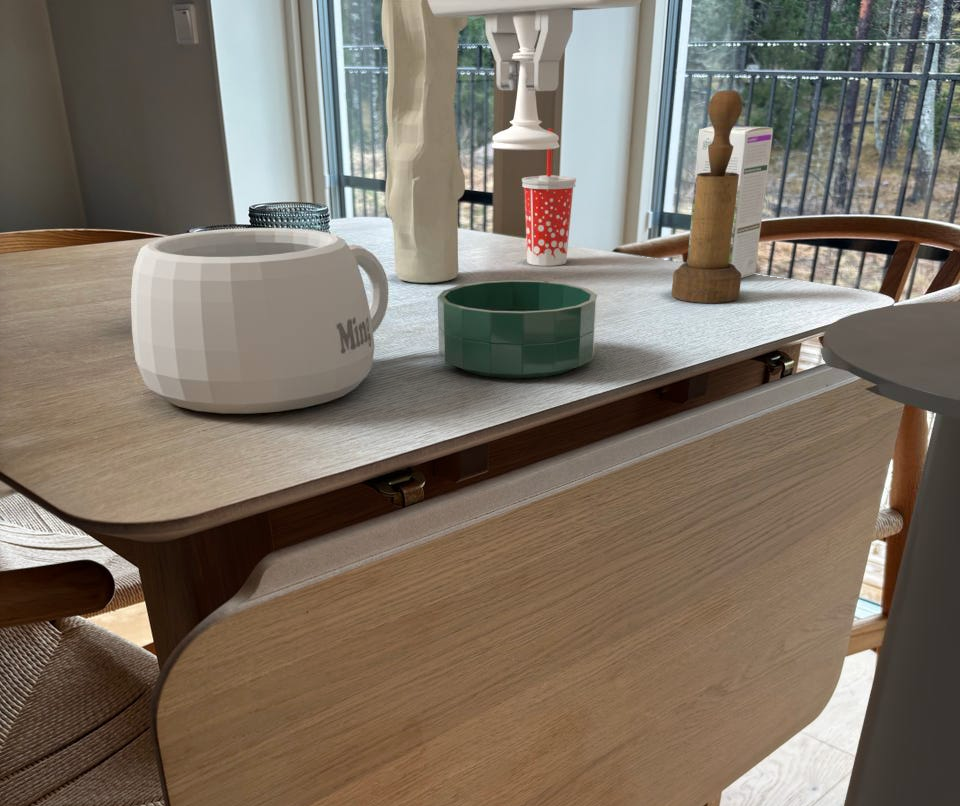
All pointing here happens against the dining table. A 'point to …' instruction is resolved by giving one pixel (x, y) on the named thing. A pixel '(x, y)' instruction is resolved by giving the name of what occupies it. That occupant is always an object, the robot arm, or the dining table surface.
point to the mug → (254, 318)
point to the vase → (422, 140)
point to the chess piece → (525, 98)
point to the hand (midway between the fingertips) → (526, 90)
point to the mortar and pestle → (713, 216)
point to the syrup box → (742, 188)
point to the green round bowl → (517, 327)
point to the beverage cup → (547, 216)
